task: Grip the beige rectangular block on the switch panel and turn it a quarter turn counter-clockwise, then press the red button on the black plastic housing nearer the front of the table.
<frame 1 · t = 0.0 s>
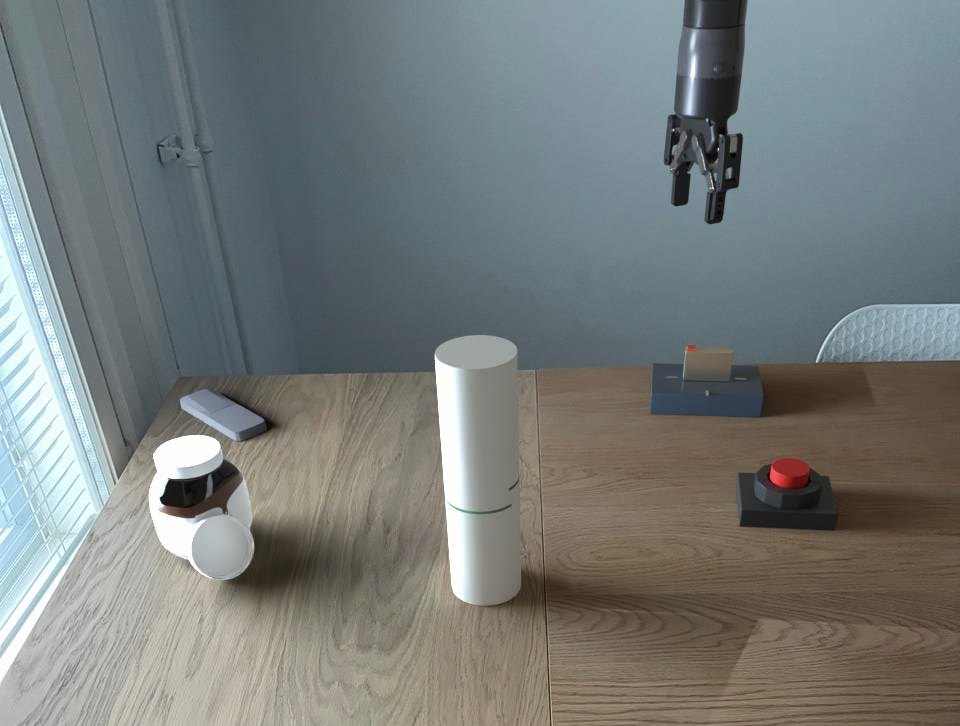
hand: (695, 213, 125), 21 cm above the table, tool pointing down, fingers open, 8 cm apart
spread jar: (219, 554, 107), on the table
switch panel: (703, 400, 130), on the table
button: (789, 474, 106), point 4 cm above the table, slide at 0.1 cm
cylindrical container: (486, 586, 101), on the table
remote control: (223, 419, 132), on the table
button box: (783, 509, 109), on the table
beige rectangular block: (707, 363, 127), point 5 cm above the table, hinge at 0.0°
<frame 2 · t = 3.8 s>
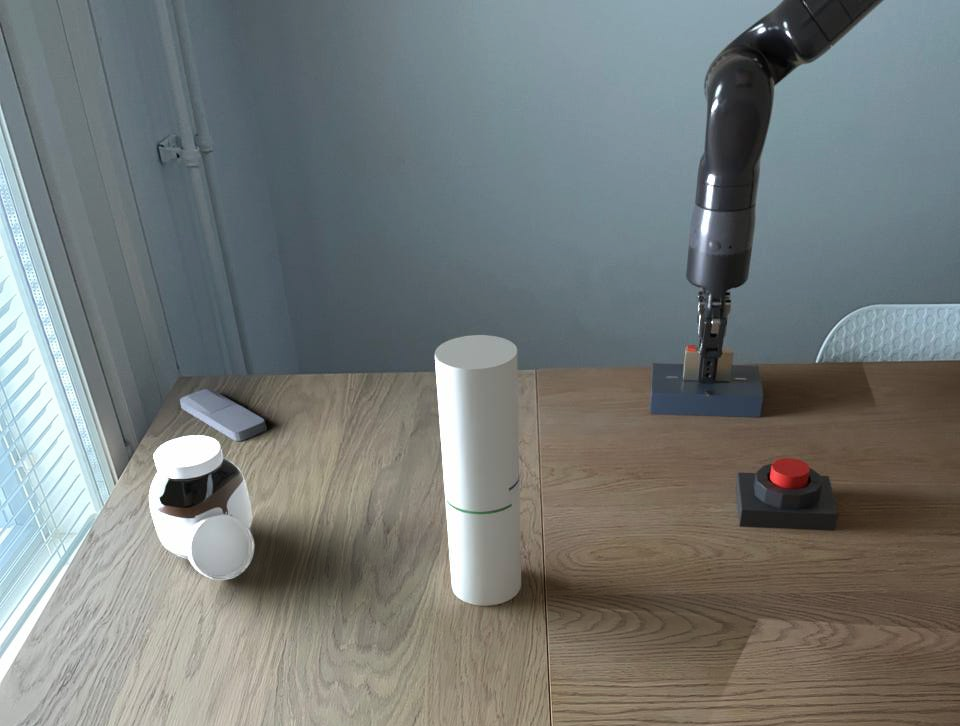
hand: (705, 373, 129), 3 cm above the table, tool pointing down, fingers open, 4 cm apart
beige rectangular block: (707, 363, 127), point 5 cm above the table, hinge at 0.0°, touching gripper
everything else where it was.
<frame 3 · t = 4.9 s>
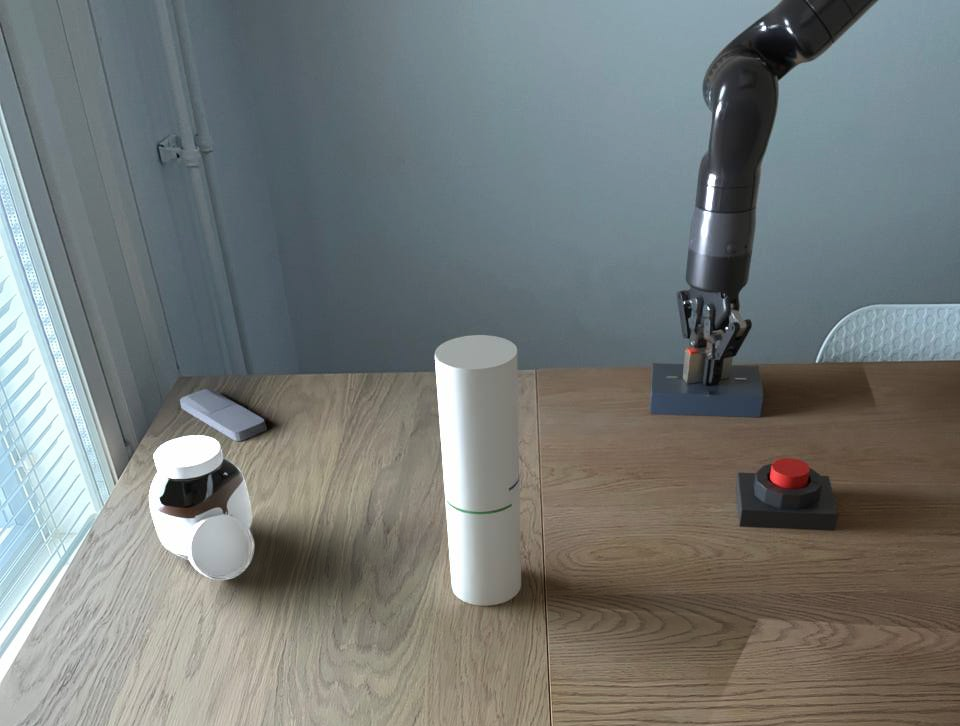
hand: (704, 378, 128), 3 cm above the table, tool pointing down, fingers closed
beige rectangular block: (707, 363, 127), point 5 cm above the table, hinge at 20.3°, touching gripper
everything else where it was.
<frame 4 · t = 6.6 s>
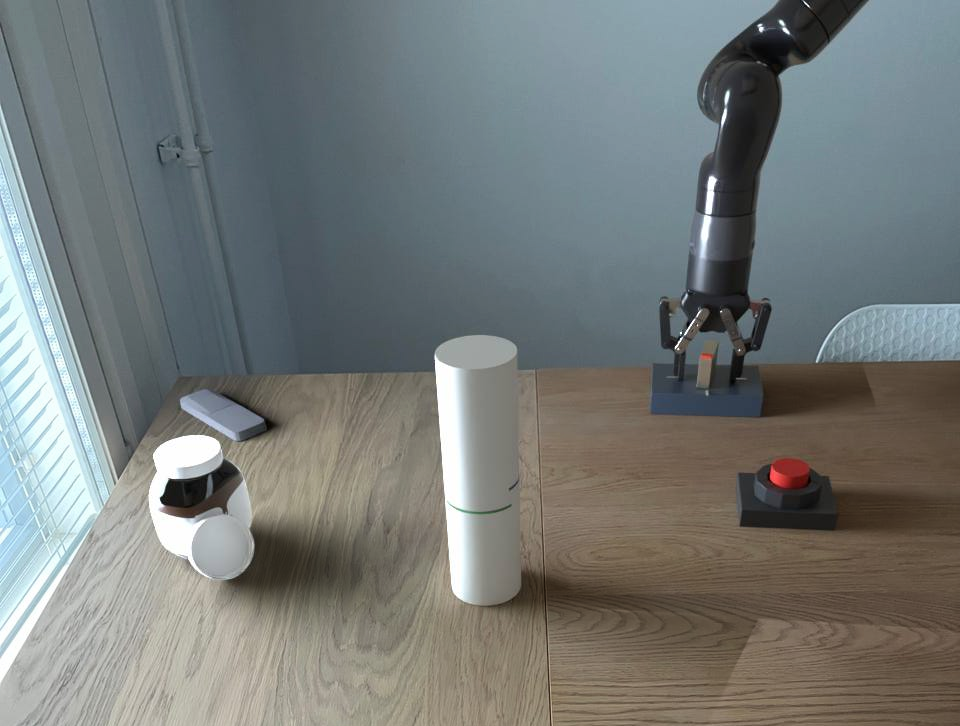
hand: (706, 378, 128), 3 cm above the table, tool pointing down, fingers closed on switch panel, 6 cm apart
beige rectangular block: (707, 363, 127), point 5 cm above the table, hinge at 79.9°
everything else where it was.
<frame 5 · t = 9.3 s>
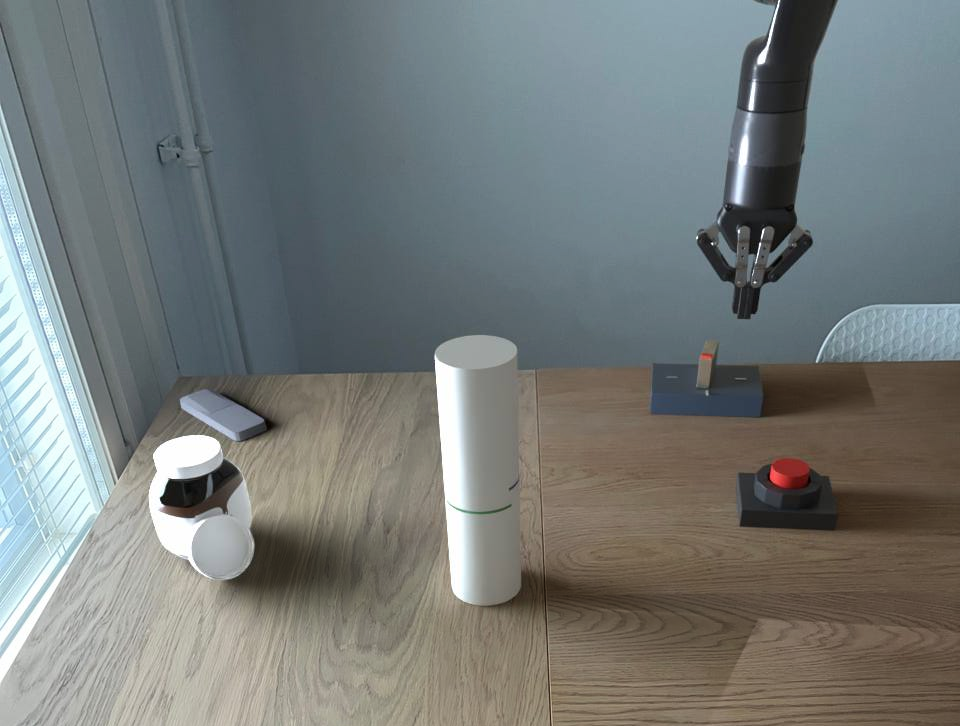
hand: (743, 316, 113), 15 cm above the table, tool pointing down, fingers closed
nothing on the table moved.
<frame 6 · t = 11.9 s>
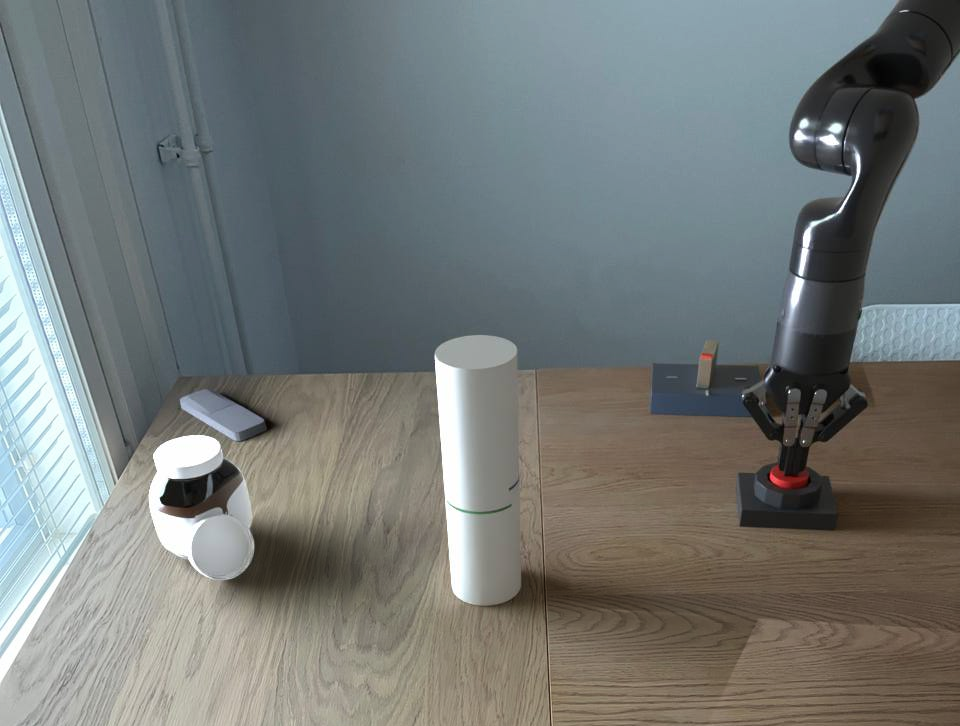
hand: (789, 472, 106), 5 cm above the table, tool pointing down, fingers closed
button: (788, 479, 107), point 4 cm above the table, slide at -0.6 cm, touching gripper
everything else where it was.
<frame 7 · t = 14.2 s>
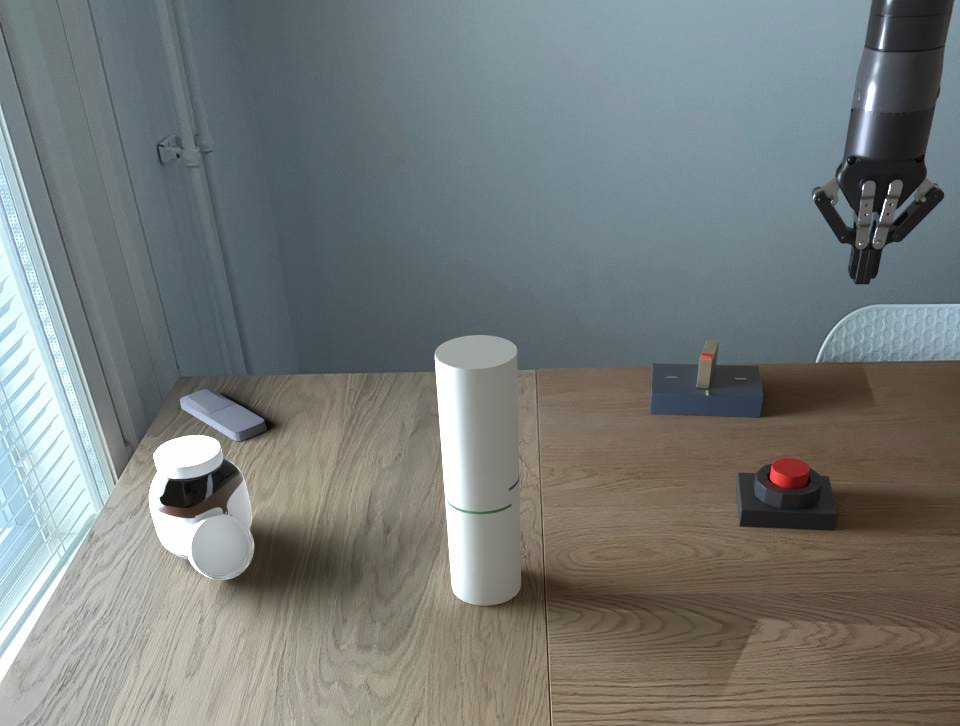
hand: (860, 281, 104), 21 cm above the table, tool pointing down, fingers closed
button: (789, 474, 106), point 4 cm above the table, slide at 0.1 cm
everything else where it was.
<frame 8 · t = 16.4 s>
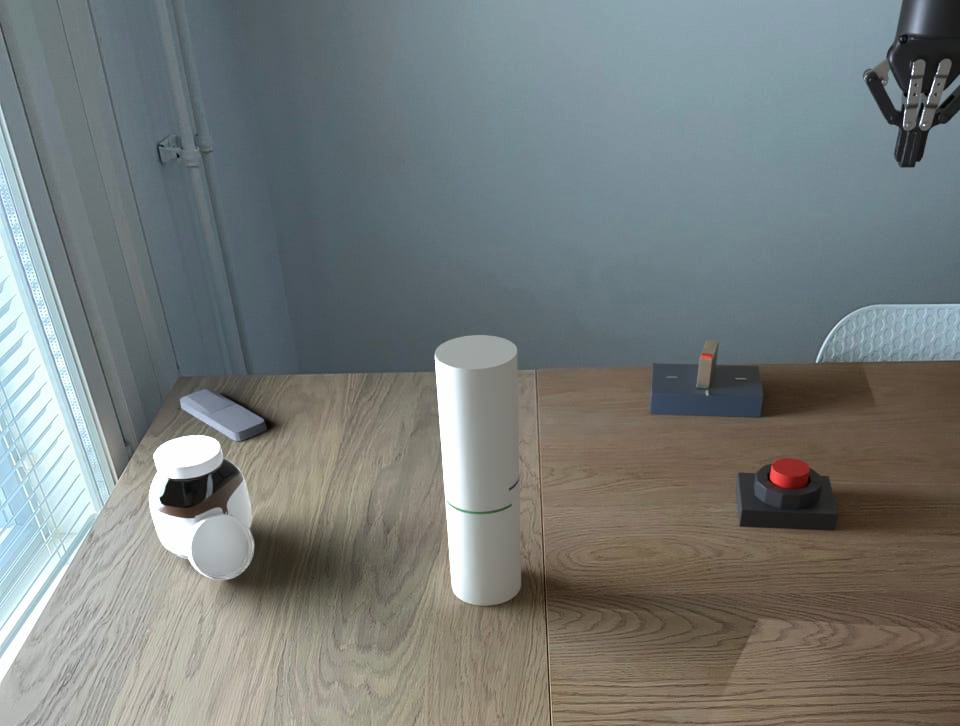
hand: (905, 165, 109), 29 cm above the table, tool pointing down, fingers closed
nothing on the table moved.
at the end: beige rectangular block at +80° (first picture: +0°); button pushed in 1.0 cm at the most during the clip, back to where it started at the end; button slide at 0.1 cm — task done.
